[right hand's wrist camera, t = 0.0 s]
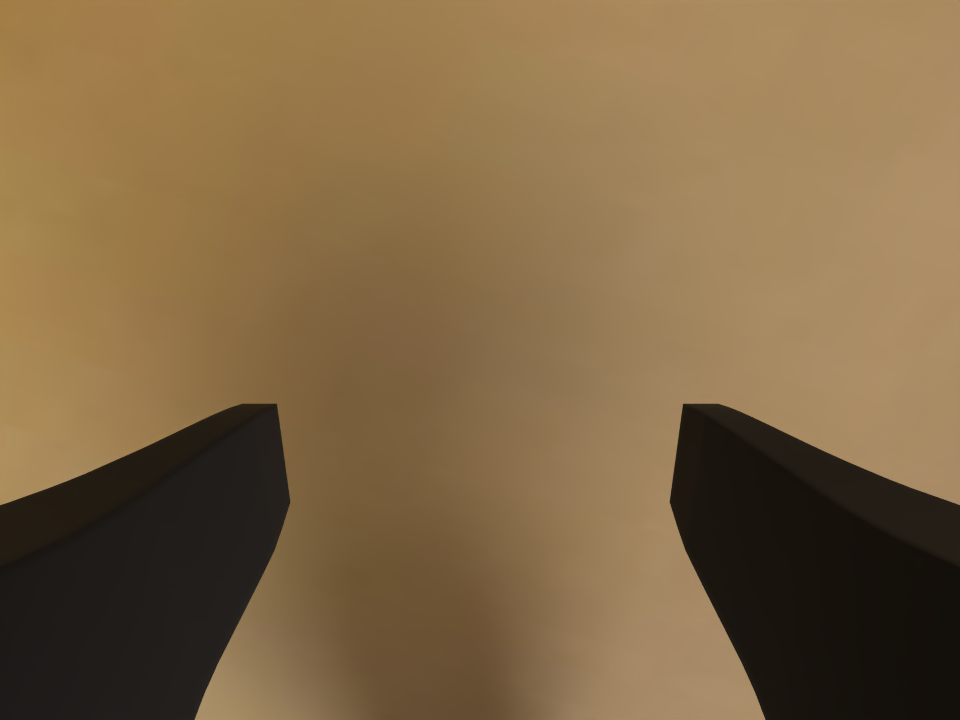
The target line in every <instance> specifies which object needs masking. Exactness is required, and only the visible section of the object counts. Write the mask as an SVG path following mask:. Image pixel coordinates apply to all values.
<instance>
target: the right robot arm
mask: <svg viewBox="0 0 960 720" xmlns="http://www.w3.org/2000/svg"><path fill="white" fill-rule="evenodd" d="M289 504H290V497H289V489H288V482H287V475H286V467H285V460H284V453H283V445H282V438H281V431H280V423H279V416H278V409H277V404H240V405H237V406H234V407H231V408H228V409H226V410H223V411H221V412H219V413H216V414H214V415H212V416H210V417H208V418H205V419H203V420H201V421H199V422H197V423H195V424H193V425H191V426H189V427H186V428H184V429H182V430H180V431H178V432H176V433H174V434H172V435H170V436H168V437H166V438H164V439H161V440H159V441H157V442H155V443H153V444H151V445H149V446H147V447H145V448H142V449H140V450H138V451H136V452H133V453H131V454H129V455H127V456H124V457H122V458H120V459H118V460H115V461H113V462H111V463H109V464H106V465H104V466H102V467H100V468H97V469H95V470H93V471H91V472H88V473H86V474H84V475H81V476H79V477H76V478H74V479H71V480H69V481H66V482H64V483H61V484H59V485H56V486H53V487H51V488H48V489H45V490H43V491H40V492H37V493H34V494H31V495H29V496H26V497H23V498H20V499H17V500H15V501H12V502H9V503H6V504H3V505H0V720H194V719H195V717H196V714H197V712H198V709H199V706H200V704H201V701H202V698H203V696H204V693H205V691H206V689H207V686H208V684H209V682H210V680H211V678H212V675H213V673H214V671H215V669H216V666H217V664H218V662H219V660H220V658H221V656H222V654H223V652H224V650H225V648H226V646H227V644H228V642H229V640H230V638H231V636H232V634H233V632H234V631H235V629H236V627H237V625H238V623H239V621H240V619H241V617H242V615H243V613H244V611H245V609H246V607H247V605H248V603H249V601H250V599H251V597H252V595H253V593H254V591H255V589H256V587H257V585H258V583H259V581H260V579H261V577H262V575H263V573H264V571H265V569H266V567H267V565H268V563H269V561H270V558H271V556H272V554H273V552H274V550H275V547H276V544H277V541H278V539H279V536H280V533H281V530H282V527H283V524H284V520H285V517H286V514H287V511H288V508H289ZM670 504H671V508H672V511H673V514H674V517H675V520H676V524H677V527H678V530H679V533H680V536H681V539H682V541H683V544H684V547H685V550H686V552H687V554H688V556H689V558H690V561H691V563H692V565H693V567H694V569H695V571H696V573H697V575H698V577H699V579H700V581H701V583H702V585H703V587H704V589H705V591H706V593H707V595H708V597H709V599H710V601H711V603H712V605H713V607H714V609H715V611H716V613H717V615H718V617H719V619H720V621H721V623H722V625H723V627H724V629H725V631H726V632H727V634H728V636H729V638H730V640H731V642H732V644H733V646H734V648H735V650H736V652H737V654H738V656H739V658H740V660H741V662H742V664H743V666H744V669H745V671H746V673H747V675H748V678H749V680H750V682H751V684H752V686H753V689H754V691H755V693H756V696H757V698H758V701H759V704H760V706H761V709H762V712H763V714H764V717H765V719H766V720H960V505H958V504H955V503H952V502H949V501H946V500H944V499H941V498H938V497H935V496H932V495H929V494H927V493H924V492H921V491H918V490H915V489H912V488H910V487H907V486H905V485H902V484H899V483H897V482H894V481H892V480H889V479H887V478H884V477H882V476H879V475H877V474H875V473H872V472H870V471H868V470H865V469H863V468H861V467H858V466H856V465H854V464H851V463H849V462H846V461H844V460H842V459H840V458H838V457H835V456H833V455H831V454H829V453H827V452H824V451H822V450H820V449H818V448H816V447H814V446H812V445H809V444H807V443H805V442H803V441H801V440H799V439H797V438H795V437H793V436H791V435H788V434H786V433H784V432H782V431H780V430H778V429H776V428H774V427H772V426H770V425H768V424H766V423H763V422H761V421H759V420H757V419H755V418H753V417H751V416H748V415H746V414H744V413H742V412H739V411H737V410H735V409H732V408H729V407H727V406H723V405H720V404H683V409H682V416H681V423H680V431H679V438H678V445H677V453H676V460H675V467H674V475H673V482H672V489H671V497H670Z"/></svg>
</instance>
